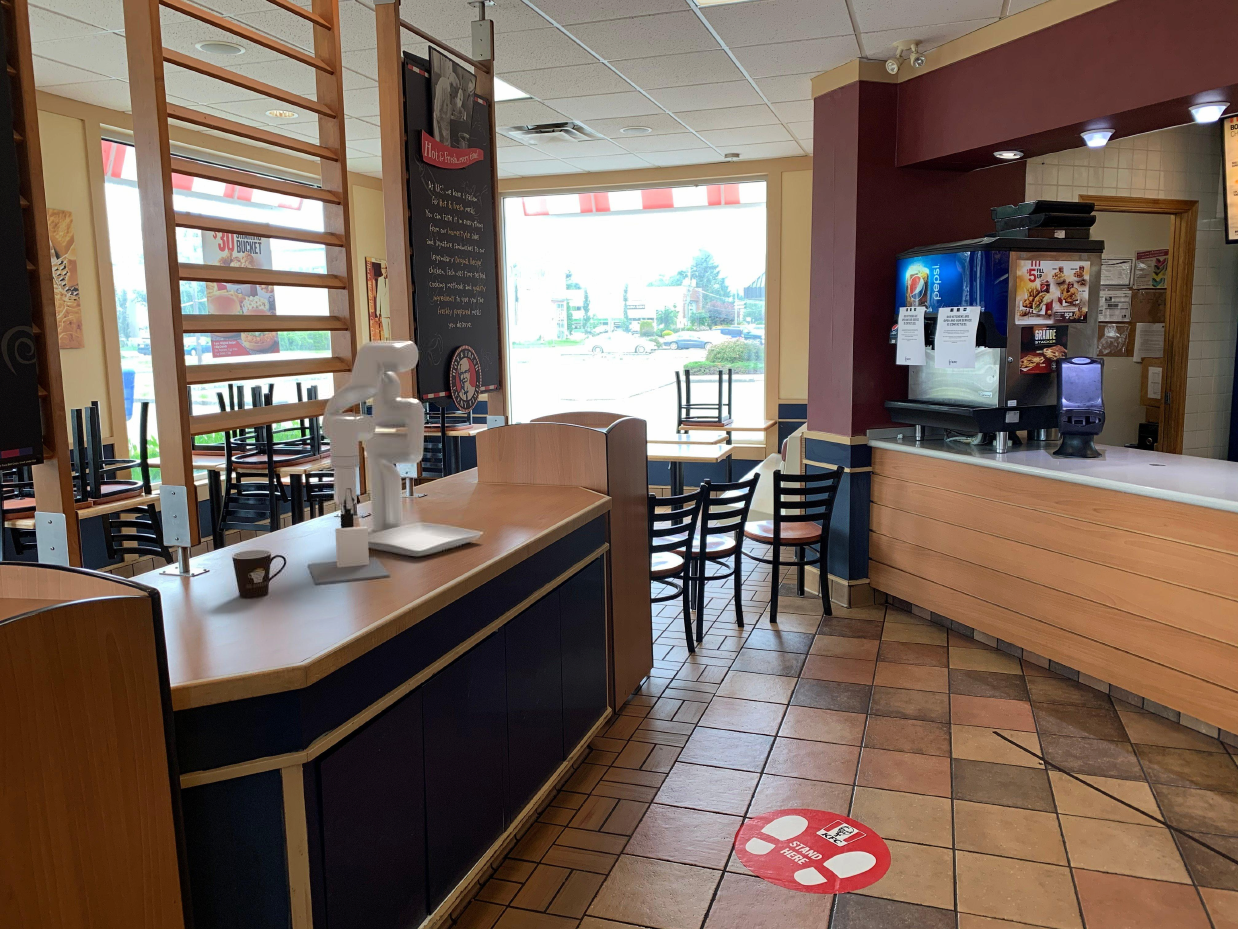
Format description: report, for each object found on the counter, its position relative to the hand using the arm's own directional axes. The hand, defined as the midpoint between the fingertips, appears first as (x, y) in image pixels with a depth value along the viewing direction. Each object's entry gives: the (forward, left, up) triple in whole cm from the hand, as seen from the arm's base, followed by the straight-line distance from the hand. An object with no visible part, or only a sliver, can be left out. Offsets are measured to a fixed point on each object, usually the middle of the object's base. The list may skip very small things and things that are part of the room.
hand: (347, 527), depth 241 cm
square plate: (-10, +22, -10) cm, 26 cm away
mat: (+12, -2, -9) cm, 15 cm away
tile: (+8, 0, -9) cm, 11 cm away
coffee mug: (+25, -24, -9) cm, 36 cm away
